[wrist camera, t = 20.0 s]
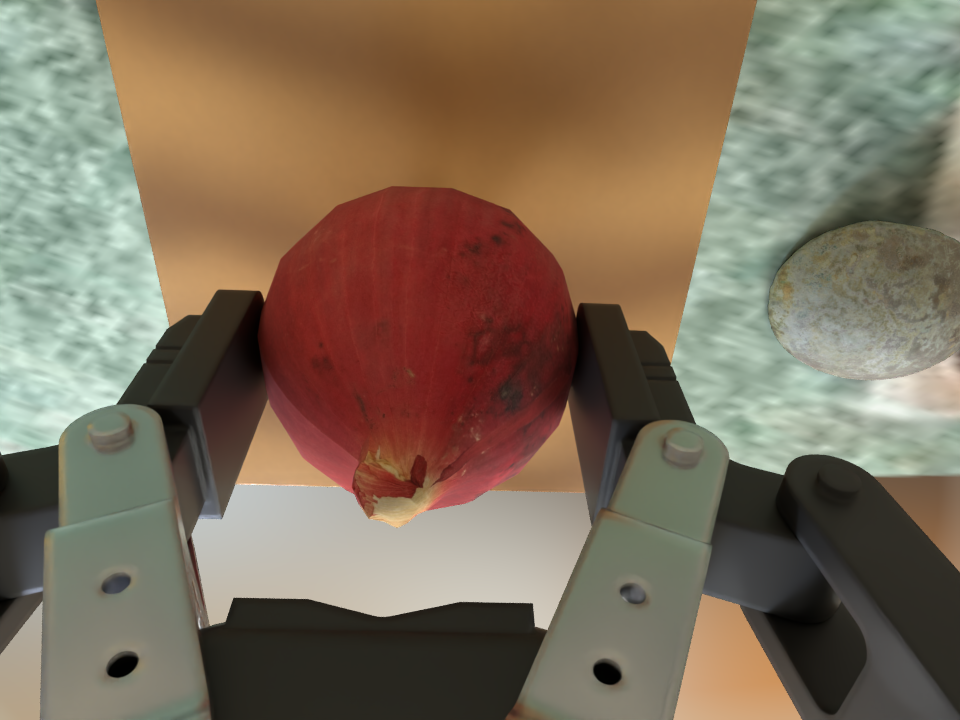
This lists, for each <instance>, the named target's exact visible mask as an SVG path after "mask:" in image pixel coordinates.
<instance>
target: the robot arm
mask: <svg viewBox="0 0 960 720" xmlns="http://www.w3.org/2000/svg"><path fill="white" fill-rule="evenodd" d="M263 305H264V298H263V295H262V293H261V292H260V291H252V290H223V289H220V290H217V291H216V293H215V294H214V296H213V298H212V299H211V301H210V302H209V304H208V306H207V307H206V309H205V311H204V312H203V314H202V315H187V316H186V317H184V318H183V319H181V320H180V321H178V322H177V323H175V324H174V325H172V326H171V327H169V328H168V329H167V330H166V331H165V333H164V334H163V336H162V337H161V339H160V340H159V342H158V343H157V345H156V349H153V351H152V352H151V354H150V355H149V357H148V358H147V362H146V363H144V364H143V366H142V367H141V369H140V370H139V372H138V373H137V375H136V376H135V378H134V379H133V381H132V382H131V383H130V385H129V386H128V388H127V389H126V391H125V392H124V394H123V395H122V397H121V398H120V400H119V401H118V403H117V404H116V405H113V406H108V407H104V408H100V409H97V410H94V411H92V412H90V413H87V414H85V415H83V416H82V417H80V418H78V419H77V420H75V421H74V422H73V423H71V424H70V425H69V426H68V427H67V428H66V429H65V431H64V432H63V433H62V435H61V437H60V440H59V445H55V446H50V447H46V448H40V449H34V450H29V451H23V452H17V453H12V454H6V455H1V453H0V654H1V653H2V652H3V650H4V649H5V648H6V646H7V645H8V644H9V642H10V641H11V640H12V639H13V637H14V636H15V635H16V634H17V632H18V631H19V630H20V629H21V627H22V626H23V624H25V622H26V621H27V620H28V618H29V617H30V616H31V615H32V613H33V612H34V611H35V609H36V608H37V607H38V606H39V604H40V603H41V602H42V601H43V610H42V655H41V696H40V720H673V718H674V713H675V709H676V705H677V701H678V696H679V692H680V687H681V683H682V679H683V674H684V669H685V666H686V661H687V657H688V652H689V648H690V644H691V639H692V635H693V630H694V626H695V621H696V617H697V613H698V608H699V604H700V600H701V595H702V594H705V595H709V596H712V597H715V598H719V599H722V600H725V601H729V602H732V603H736V604H739V605H740V607H741V609H742V611H743V613H744V615H745V617H746V619H747V621H748V622H749V624H750V626H751V628H752V630H753V631H754V633H755V635H756V637H757V639H758V641H759V642H760V644H761V646H762V648H763V650H764V652H765V653H766V655H767V657H768V659H769V660H770V662H771V664H772V666H773V668H774V669H775V671H776V673H777V675H778V677H779V679H780V680H781V682H782V684H783V686H784V687H785V689H786V691H787V693H788V695H789V696H790V698H791V700H792V702H793V704H794V706H795V707H796V709H797V711H798V713H799V715H800V716H801V718H802V720H960V572H959V571H958V570H957V569H956V568H955V566H954V565H953V564H952V563H951V562H950V561H949V560H948V559H947V558H946V556H945V555H944V554H943V553H942V552H941V551H940V550H939V549H938V548H937V546H936V545H935V544H934V543H933V542H932V541H931V540H930V539H929V538H928V536H927V535H926V534H925V533H924V532H923V531H922V530H921V529H920V527H919V526H918V525H917V524H916V523H915V522H914V521H913V520H912V519H911V517H910V516H909V515H908V514H907V513H906V512H905V511H904V510H903V508H901V506H900V505H899V504H898V503H897V502H896V501H895V500H894V498H893V497H892V496H891V495H890V494H889V493H888V492H887V491H886V490H885V488H884V487H883V486H882V485H881V484H880V483H879V482H878V481H877V480H876V479H875V478H874V477H873V476H872V475H870V474H869V473H868V472H866V471H865V470H863V469H862V468H860V467H858V466H856V465H854V464H852V463H850V462H848V461H845V460H843V459H839V458H836V457H832V456H827V455H818V454H817V455H805V456H801V457H798V458H796V459H794V460H793V461H792V462H791V463H790V464H789V465H788V467H787V469H786V472H785V474H784V475H780V474H776V473H772V472H768V471H764V470H760V469H756V468H752V467H749V466H745V465H742V464H739V463H737V462H734V461H732V460H730V459H729V453H728V450H727V448H726V446H725V445H724V444H723V442H722V441H721V440H720V439H719V438H718V437H717V436H715V435H714V434H713V433H712V432H710V431H708V430H707V429H705V428H703V427H700V426H698V425H696V423H695V421H694V418H693V416H692V413H691V411H690V409H689V406H688V404H687V401H686V399H685V397H684V394H683V392H682V389H681V387H680V385H679V382H678V381H676V375H675V373H674V370H673V368H672V367H670V364H671V363H670V361H669V358H668V356H667V354H666V351H665V349H664V346H663V345H661V344H660V343H659V342H658V341H657V340H656V339H655V338H654V337H652V336H651V335H650V334H649V333H648V332H647V331H637V330H629V328H628V326H627V323H626V320H625V317H624V314H623V312H622V309H621V306H620V305H619V304H601V303H580V304H579V306H578V309H577V314H576V319H577V329H578V341H579V351H578V357H577V361H576V366H575V370H574V374H573V379H572V383H571V387H570V392H569V396H568V404H569V410H570V415H571V420H572V425H573V431H574V436H575V441H576V446H577V452H578V457H579V462H580V468H581V473H582V478H583V483H584V489H585V494H586V499H587V504H588V509H589V515H590V520H591V525H592V528H591V530H590V532H589V535H588V537H587V540H586V542H585V544H584V546H583V549H582V551H581V554H580V556H579V558H578V560H577V563H576V565H575V567H574V570H573V572H572V574H571V577H570V579H569V581H568V584H567V586H566V588H565V591H564V593H563V595H562V598H561V600H560V602H559V605H558V607H557V609H556V612H555V614H554V616H553V619H552V621H551V623H550V626H549V628H548V630H545V629H541V628H538V627H535V623H534V612H533V604H532V603H530V604H529V603H482V602H481V603H479V602H459V603H453V604H449V605H443V606H439V607H434V608H429V609H424V610H419V611H414V612H409V613H405V614H400V615H395V616H390V617H377V616H372V615H368V614H364V613H360V612H356V611H352V610H348V609H345V608H340V607H336V606H332V605H328V604H325V603H321V602H317V601H313V600H309V599H270V598H269V599H267V598H233V601H232V604H231V607H230V610H229V613H228V616H227V620H226V622H224V623H219V624H215V625H212V626H210V625H209V620H208V615H207V610H206V605H205V600H204V594H203V589H202V584H201V579H200V574H199V569H198V563H197V559H196V553H195V548H194V544H193V540H192V536H191V534H192V532H193V529H194V527H195V525H196V522H197V520H198V519H222V517H223V515H224V512H225V510H226V507H227V505H228V502H229V499H230V497H231V494H232V491H233V489H234V486H235V484H236V481H237V479H238V476H239V473H240V471H241V468H242V466H243V463H244V460H245V458H246V455H247V453H248V450H249V447H250V445H251V442H252V440H253V437H254V434H255V432H256V429H257V427H258V424H259V421H260V419H261V416H262V414H263V411H264V408H265V406H266V403H267V401H268V395H267V391H266V388H265V382H264V375H263V369H262V363H261V356H260V350H259V344H258V337H257V335H258V329H259V322H260V315H261V311H262V308H263Z"/></svg>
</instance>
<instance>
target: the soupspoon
mask: <svg viewBox="0 0 960 720" xmlns="http://www.w3.org/2000/svg"><path fill="white" fill-rule="evenodd" d="M769 300H770V301H769V304H768V309H769V312H768V315H769V321H770V324H771V328H772V330H773V332H774V334H775V336H776V338H777V340H778V341H779V342H780V344H781V345H782V346H783V347H784V348H785V349H786V350H787V351H788V352H789V353H790V354H791V355H793V356H794V357H795V358H797V359H798V360H799V361H801V362H803V363H804V364H806V365H808V366H810V367H812V368H814V369H816V370H818V371H822V372H825V373H828V374H831V375H835V376H837V377H843V378H849V379H857V380H883V379H891V378H897V377H903V376H907V375H910V374H914V373H917V372H919V371H922V370H925V369H927V368H930V367H931V366H934V365H936V364H938V363H940V362H941V361H944V360H945V359H947V358H948V357H950V356H951V355H953V354H954V353H956V352H957V351H958V350H959V349H960V242H958V241H957V240H955V239H953V238H951V237H948V236H946V235H944V234H943V233H941V232H938V231H936V230H931V229H928V228H921V227H917V226H911V225H904V224H897V223H892V222H884V221H880V220H878V221H873V220H872V221H864V222H859V223H855V224H852V225H847V226H845V227H842V228H841V227H839V228H838V229H836V230H833V231H828V232H825V233H824V234H823V235H820V236H819V237H816V238H814V239H811V240H810V241H809V242H808V243H806V244H805V245H804V246H803V247H802V248H800V249H798V250H797V251H796V252H795V253H794V254H793V255H792V256H791V257H790V258H789V259H788V260H787V261H786V262H785V263H784V264H783V265H782V266H781V268H780V269H779V271H778V272H777V274H776V276H775V279H774V282H773V284H772V286H771V288H770V292H769Z"/></svg>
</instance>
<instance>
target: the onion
mask: <svg viewBox="0 0 960 720" xmlns="http://www.w3.org/2000/svg"><path fill="white" fill-rule="evenodd" d="M257 337H258V344H259V350H260V356H261V363H262V369H263V375H264V382H265V388H266V391H267V395H268V399H269V402H270V406H271V408H272V409H273V411H274V412H275V414H276V416H277V417H278V419H279V420H280V422H281V423H282V425H283V427H284V428H285V430H286V432H287V433H288V435H289V436H290V438H291V440H292V441H293V443H294V445H295V446H296V448H297V450H298V451H299V453H300V454H301V456H302V458H304V459H305V460H306V461H307V462H309V463H310V464H311V465H312V466H314V467H315V468H316V469H318V470H319V471H321V472H322V473H323V474H325V475H326V476H327V477H329V478H330V479H332V480H333V481H334V482H336V483H337V484H338V485H340V486H341V487H343V488H344V489H345V490H347V491H349V492H351V493H353V494H355V497H356V499H357V501H358V503H359V505H360V507H361V508H362V510H363V511H364V512H365V514H366V516H367V517H368V518H369V519H373V520H379V521H384V522H386V523H388V524H390V525H392V526H394V527H396V528H398V527H400V526H402V525H404V524H406V523H408V522H409V521H410V520H411V519H412V518H413V517H415V516H416V515H417V514H419V513H422V512H424V511H427V510H432V509H438V508H443V507H449V506H454V505H460V504H464V503H467V502H470V501H473V500H474V499H476V498H477V497H479V496H480V495H482V494H483V493H485V492H487V491H489V490H491V489H492V488H494V487H496V486H498V485H499V484H501V483H503V482H505V481H507V480H508V479H510V478H512V477H514V476H515V475H517V474H519V473H520V471H521V470H522V469H523V468H524V467H525V465H526V464H527V463H528V462H529V461H530V459H531V458H532V457H533V456H534V455H535V453H536V452H537V451H538V450H539V449H540V447H541V446H542V445H543V444H544V443H545V442H546V440H547V439H548V438H549V437H550V436H551V434H552V433H553V432H554V431H555V430H556V428H557V427H558V426H559V424H560V421H561V419H562V416H563V413H564V411H565V408H566V405H567V400H568V396H569V392H570V387H571V383H572V379H573V374H574V370H575V366H576V361H577V357H578V351H579V341H578V329H577V319H576V316H575V312H574V309H573V305H572V301H571V298H570V294H569V291H568V287H567V283H566V280H565V276H564V273H563V270H562V268H561V267H560V265H559V263H558V262H557V260H556V258H555V257H554V255H553V254H552V253H551V252H550V251H549V250H548V248H547V247H546V246H545V245H544V244H543V243H542V242H541V241H540V240H539V239H538V238H537V237H536V236H535V235H534V234H533V233H532V232H531V231H530V230H529V229H528V228H527V227H526V226H525V225H524V223H523V222H522V221H521V220H520V219H519V218H518V217H517V216H516V215H515V214H514V213H513V212H512V211H511V210H510V209H507V208H504V207H502V206H499V205H496V204H494V203H491V202H488V201H486V200H483V199H480V198H478V197H475V196H472V195H470V194H467V193H464V192H462V191H459V190H456V189H453V188H436V187H406V186H391V187H388V188H385V189H382V190H379V191H376V192H374V193H371V194H368V195H365V196H362V197H359V198H356V199H354V200H351V201H348V202H345V203H342V204H339V205H337V206H336V207H335V208H334V209H333V210H332V211H330V212H329V213H328V214H327V215H326V216H325V217H324V218H323V219H322V220H321V221H320V222H319V223H317V224H316V225H315V226H314V227H313V228H312V229H311V230H310V231H309V232H308V233H307V234H306V235H305V236H303V237H302V238H301V239H300V240H299V241H298V242H297V243H296V244H295V245H294V246H293V247H292V248H291V249H290V250H289V251H288V252H287V253H286V254H285V255H284V256H283V257H282V258H281V259H280V262H279V264H278V267H277V270H276V272H275V275H274V278H273V281H272V283H271V286H270V289H269V291H268V294H267V297H266V300H265V302H264V305H263V308H262V311H261V315H260V322H259V329H258V335H257Z"/></svg>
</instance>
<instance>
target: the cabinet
mask: <svg viewBox="0 0 960 720" xmlns="http://www.w3.org/2000/svg"><path fill="white" fill-rule="evenodd" d="M96 3H97V8H98V12H99V16H100V21H101V25H102V30H103V34H104V39H105V43H106V47H107V52H108V56H109V61H110V65H111V70H112V74H113V78H114V83H115V87H116V92H117V96H118V100H119V105H120V109H121V114H122V118H123V123H124V127H125V131H126V136H127V140H128V145H129V149H130V154H131V158H132V162H133V167H134V171H135V176H136V180H137V184H138V189H139V193H140V198H141V202H142V207H143V211H144V215H145V220H146V224H147V229H148V233H149V238H150V242H151V246H152V251H153V255H154V260H155V264H156V268H157V273H158V277H159V282H160V286H161V291H162V295H163V299H164V304H165V308H166V313H167V317H168V322H169V326H170V327H171V326H172V325H174V324H175V323H177V322H178V321H180V320H181V319H183V318H184V317H186V316H187V315H202V314H203V312H204V311H205V309H206V307H207V306H208V304H209V302H210V301H211V299H212V298H213V296H214V294H215V293H216V291H217V290H220V289H223V290H252V291H260V292H261V293H262V295H263V298H264V302H265V300H266V297H267V294H268V291H269V289H270V286H271V283H272V281H273V278H274V275H275V272H276V270H277V267H278V264H279V262H280V259H281V258H282V257H283V256H284V255H285V254H286V253H287V252H288V251H289V250H290V249H291V248H292V247H293V246H294V245H295V244H296V243H297V242H298V241H299V240H300V239H301V238H302V237H303V236H305V235H306V234H307V233H308V232H309V231H310V230H311V229H312V228H313V227H314V226H315V225H316V224H317V223H319V222H320V221H321V220H322V219H323V218H324V217H325V216H326V215H327V214H328V213H329V212H330V211H332V210H333V209H334V208H335V207H336V206H337V205H339V204H342V203H345V202H348V201H351V200H354V199H356V198H359V197H362V196H365V195H368V194H371V193H374V192H376V191H379V190H382V189H385V188H388V187H391V186H406V187H436V188H453V189H456V190H459V191H462V192H464V193H467V194H470V195H472V196H475V197H478V198H480V199H483V200H486V201H488V202H491V203H494V204H496V205H499V206H502V207H504V208H507V209H510V210H511V211H512V212H513V213H514V214H515V215H516V216H517V217H518V218H519V219H520V220H521V221H522V222H523V223H524V225H525V226H526V227H527V228H528V229H529V230H530V231H531V232H532V233H533V234H534V235H535V236H536V237H537V238H538V239H539V240H540V241H541V242H542V243H543V244H544V245H545V246H546V247H547V248H548V250H549V251H550V252H551V253H552V254H553V255H554V257H555V258H556V260H557V262H558V263H559V265H560V267H561V268H562V270H563V273H564V276H565V280H566V283H567V287H568V291H569V294H570V298H571V301H572V305H573V309H574V312H575V316H576V314H577V309H578V306H579V304H580V303H601V304H619V305H620V306H621V309H622V312H623V314H624V317H625V320H626V323H627V326H628V328H629V330H637V331H647V332H648V333H649V334H650V335H651V336H652V337H654V338H655V339H656V340H657V341H658V342H659V343H660V344H661V345H663V346H664V349H665V351H666V354H667V356H668V358H669V361H670V363H671V361H672V357H673V352H674V348H675V344H676V340H677V336H678V331H679V327H680V323H681V319H682V315H683V310H684V306H685V302H686V298H687V293H688V289H689V285H690V281H691V277H692V272H693V268H694V264H695V260H696V255H697V251H698V247H699V243H700V239H701V234H702V230H703V226H704V222H705V218H706V213H707V209H708V205H709V201H710V196H711V192H712V188H713V184H714V180H715V175H716V171H717V167H718V163H719V159H720V154H721V150H722V146H723V142H724V137H725V133H726V129H727V125H728V121H729V116H730V112H731V108H732V104H733V99H734V95H735V91H736V87H737V83H738V78H739V74H740V70H741V66H742V62H743V57H744V53H745V49H746V45H747V40H748V36H749V32H750V28H751V24H752V19H753V15H754V11H755V7H756V3H757V0H96ZM670 365H671V364H670ZM236 484H243V485H284V486H285V485H286V486H325V487H330V486H331V487H341V486H340V485H338V484H337V483H336V482H334V481H333V480H332V479H330V478H329V477H327V476H326V475H325V474H323V473H322V472H321V471H319V470H318V469H316V468H315V467H314V466H312V465H311V464H310V463H309V462H307V461H306V460H305V459H304V458H302V456H301V454H300V453H299V451H298V450H297V448H296V446H295V445H294V443H293V441H292V440H291V438H290V436H289V435H288V433H287V432H286V430H285V428H284V427H283V425H282V423H281V422H280V420H279V419H278V417H277V416H276V414H275V412H274V411H273V409H272V408H271V406H270V402H269V399H268V401H267V403H266V406H265V408H264V411H263V414H262V416H261V419H260V421H259V424H258V427H257V429H256V432H255V434H254V437H253V440H252V442H251V445H250V447H249V450H248V453H247V455H246V458H245V460H244V463H243V466H242V468H241V471H240V473H239V476H238V479H237V481H236ZM494 490H495V491H533V492H574V493H575V492H576V493H585V489H584V483H583V478H582V473H581V468H580V462H579V457H578V452H577V446H576V441H575V436H574V431H573V425H572V420H571V415H570V410H569V404H568V400H567V405H566V408H565V411H564V413H563V416H562V419H561V421H560V424H559V426H558V427H557V428H556V430H555V431H554V432H553V433H552V434H551V436H550V437H549V438H548V439H547V440H546V442H545V443H544V444H543V445H542V446H541V447H540V449H539V450H538V451H537V452H536V453H535V455H534V456H533V457H532V458H531V459H530V461H529V462H528V463H527V464H526V465H525V467H524V468H523V469H522V470H521V471H520V473H519V474H517V475H515V476H514V477H512V478H510V479H508V480H507V481H505V482H503V483H501V484H499V485H498V486H496V487H494V488H492V489H491V491H494Z"/></svg>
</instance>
